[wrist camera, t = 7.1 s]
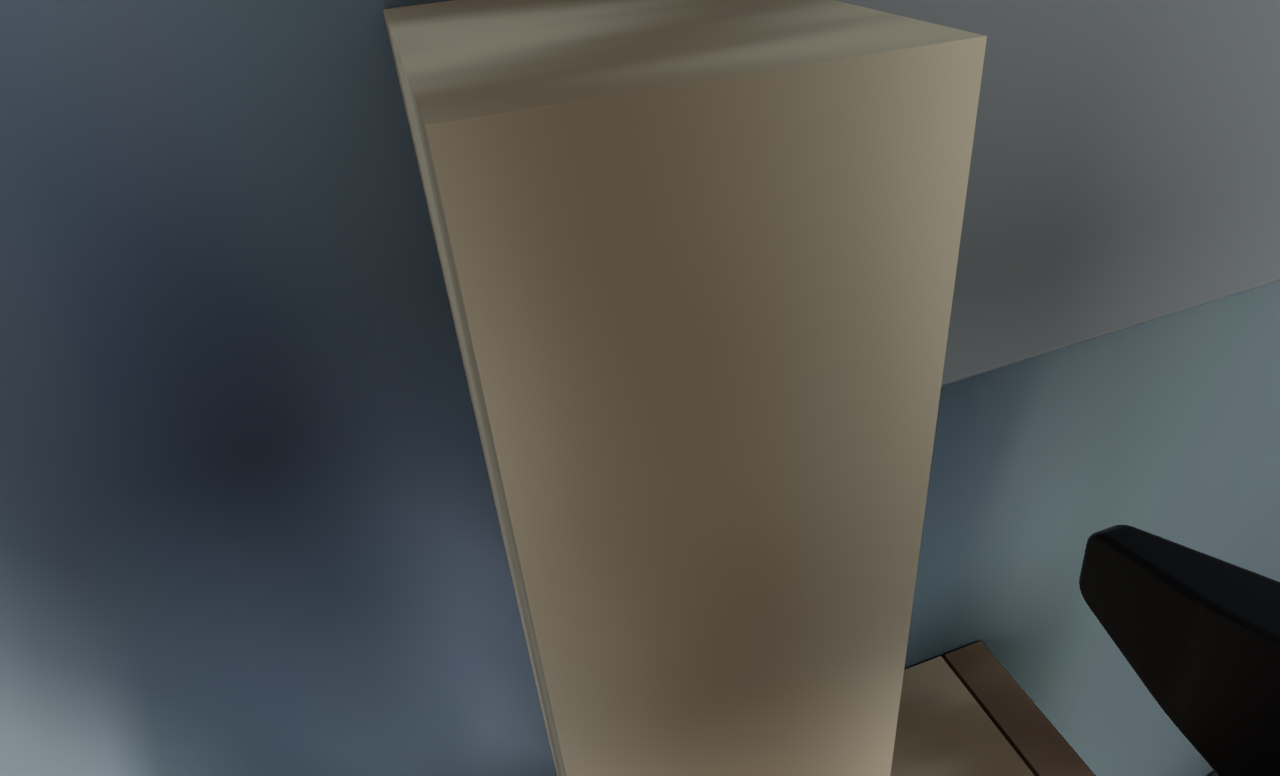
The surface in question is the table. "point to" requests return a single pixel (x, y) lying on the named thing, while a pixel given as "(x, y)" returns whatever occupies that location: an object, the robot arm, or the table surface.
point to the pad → (1110, 167)
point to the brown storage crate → (975, 723)
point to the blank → (701, 352)
